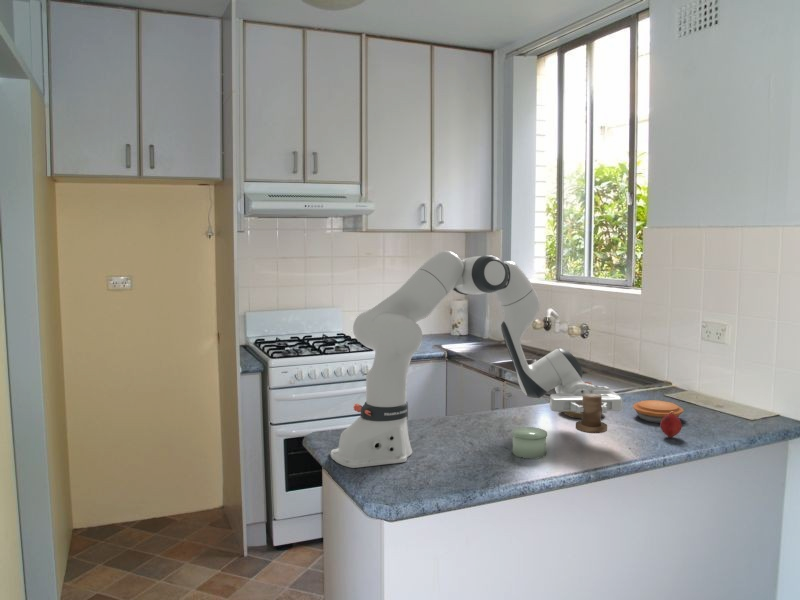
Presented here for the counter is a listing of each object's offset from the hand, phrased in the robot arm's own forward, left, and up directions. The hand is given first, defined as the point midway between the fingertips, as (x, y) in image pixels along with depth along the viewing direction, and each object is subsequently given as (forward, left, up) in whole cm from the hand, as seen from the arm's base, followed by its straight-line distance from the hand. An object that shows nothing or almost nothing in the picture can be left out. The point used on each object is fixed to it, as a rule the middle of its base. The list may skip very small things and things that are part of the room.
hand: (592, 410), depth 185 cm
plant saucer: (+27, +31, -13) cm, 43 cm away
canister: (-15, +9, -12) cm, 21 cm away
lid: (0, +1, -5) cm, 6 cm away
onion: (+31, -1, -12) cm, 34 cm away
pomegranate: (+41, +42, -12) cm, 60 cm away
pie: (+45, +15, -13) cm, 49 cm away
